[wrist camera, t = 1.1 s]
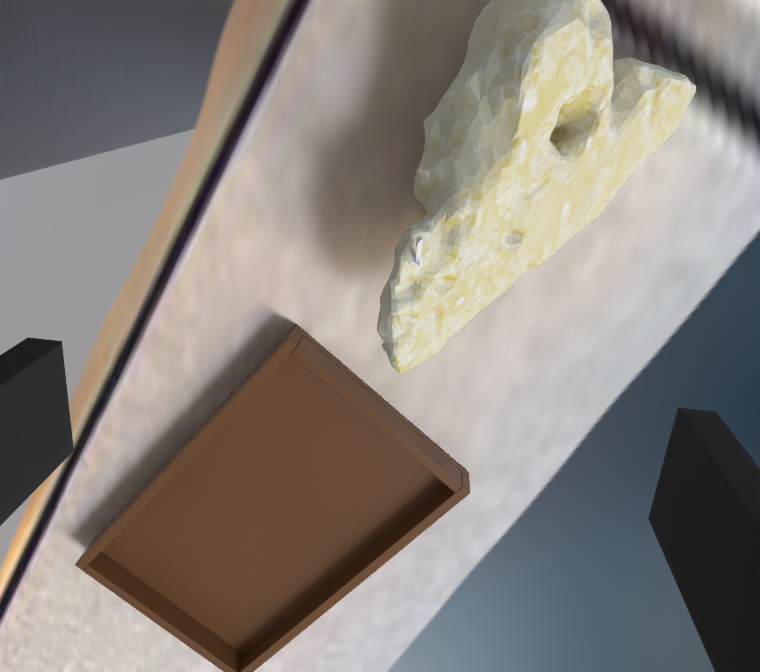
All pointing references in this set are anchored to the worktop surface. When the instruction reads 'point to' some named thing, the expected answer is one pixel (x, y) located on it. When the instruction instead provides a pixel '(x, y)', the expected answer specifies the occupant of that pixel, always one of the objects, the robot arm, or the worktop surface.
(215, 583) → the holder
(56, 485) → the worktop surface
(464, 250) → the cheese
